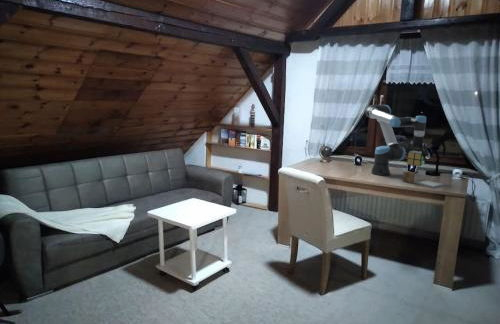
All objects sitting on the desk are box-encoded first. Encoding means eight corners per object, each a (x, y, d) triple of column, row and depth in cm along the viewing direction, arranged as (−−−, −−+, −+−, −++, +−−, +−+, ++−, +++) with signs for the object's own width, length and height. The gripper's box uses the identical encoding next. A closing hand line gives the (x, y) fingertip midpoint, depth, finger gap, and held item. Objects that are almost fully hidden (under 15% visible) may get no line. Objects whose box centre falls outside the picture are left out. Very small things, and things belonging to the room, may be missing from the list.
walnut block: (402, 181, 278) (403, 171, 276) (407, 180, 281) (408, 171, 279) (409, 183, 273) (410, 173, 271) (414, 182, 276) (415, 172, 274)
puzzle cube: (410, 162, 290) (412, 150, 288) (423, 164, 284) (425, 152, 282) (406, 164, 283) (408, 152, 281) (420, 166, 276) (421, 153, 274)
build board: (416, 183, 272) (416, 182, 272) (426, 181, 279) (427, 180, 279) (433, 188, 260) (433, 186, 260) (444, 185, 268) (444, 184, 268)
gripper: (402, 134, 286) (399, 160, 291) (430, 138, 267) (426, 166, 271) (408, 133, 290) (405, 159, 295) (436, 137, 270) (432, 165, 275)
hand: (415, 162), depth 283 cm, fingers closed on puzzle cube, 11 cm apart
